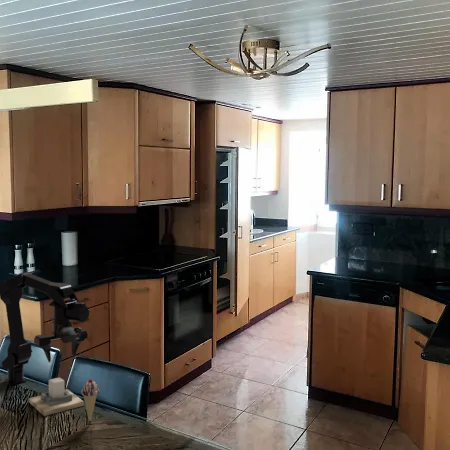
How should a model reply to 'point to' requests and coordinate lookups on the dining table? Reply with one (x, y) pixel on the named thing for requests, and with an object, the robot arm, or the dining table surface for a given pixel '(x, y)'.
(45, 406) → the socket holder
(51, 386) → the connector plug
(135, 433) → the dining table surface
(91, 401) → the ice cream cone
